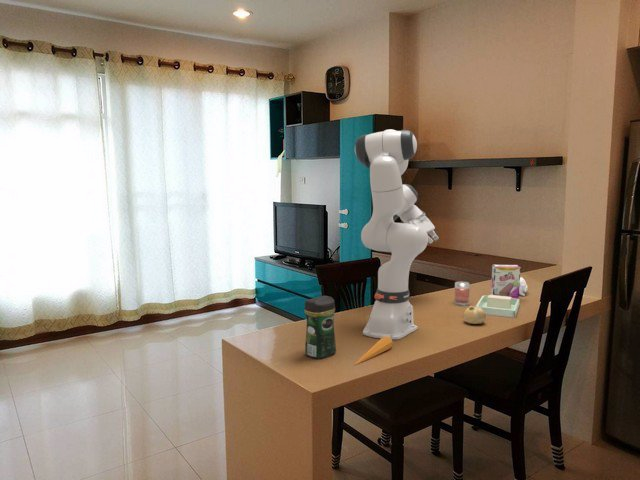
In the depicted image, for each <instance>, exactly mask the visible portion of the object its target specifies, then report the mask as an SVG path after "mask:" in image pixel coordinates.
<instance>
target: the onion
mask: <svg viewBox="0 0 640 480" xmlns="http://www.w3.org/2000/svg"><path fill="white" fill-rule="evenodd" d="M468 306H469V307H467V308H466V309H465V310H464V313H463V318H464V321H465V322H466V323H468V324H471V325H481V324H482V325H483V323H484V321H485V320H486V317H487V316H486V315H487V314H485V312H484V311H483V310H482V309H481V308H479V307H475V306H476V305H468Z"/></svg>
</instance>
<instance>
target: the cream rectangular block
mask: <svg viewBox="0 0 640 480" xmlns="http://www.w3.org/2000/svg"><path fill="white" fill-rule="evenodd" d="M487 296H488V297H487V307H495V308H505V309H510V308H511V297H508V296H498V295H491V294H488V295H487Z"/></svg>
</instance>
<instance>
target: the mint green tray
mask: <svg viewBox="0 0 640 480" xmlns="http://www.w3.org/2000/svg"><path fill="white" fill-rule="evenodd" d="M488 296H489V295H482V296H481V297H480V299H479V300H478V302H477V303H476V305H474V306H475V307H479V308H481V309H482V310H483V311H484V312H485V314H486V315H489V316H497V317H506V318H514V319H515V318H516V316H517V313H518V310H519V308H520V298H519V299H515V298H511V308H510V309H505V308H495V307H487V297H488Z"/></svg>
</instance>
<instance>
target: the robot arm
mask: <svg viewBox="0 0 640 480" xmlns="http://www.w3.org/2000/svg"><path fill="white" fill-rule="evenodd" d="M417 149H418V142H417V138H416V136H415V134H414V133H413V131H411V130H407V129H401V130H395V129H391V128H390V129H385V130H383V131H377V132H372V133H369V134H366V133H365V134H362V135H360V136H358V137H357V139H356V140H355V145H354V153H355V156H356V159H357V161H358V162H359V163H360V164H361V165H364V166H365V167H366V169H369V179H370V181H369V182H370V190H371V199H372V215H371V217H370V220H369V221H368V222H367V223H366V224H365V225H364V226H363V228H362V230H361V233H360V238H361V242H362V244H363V246H364V247H365V248H367V249H370V250H372V251H376V252H385V253H391V257H390V260H389V261H387V262H385V263H383V264H382V265H380V266H379V268H378V271H377V288H376V292H375V294H374V299H375V301H374V304H373V306H372V309H371V312H370V315H369V319H368V320H367V321H368V322H367V323H366V325H365V326H364V328H363V330H362V335H364V336H367V337H370V338H376V339H381V338H382V337H385V336H387V337H390V338H391V339H392V340H401V339H402V338H404V337H406V336H408V335H410V334H411V333H413V332H415V331H417V330H418V326H417V325H416V324H414V306H413V305H412V304H411V303H410V289H409V278H410V277H409V275H410V269H411V265H412V264H413V261H414V260H415V259H416V258H417V257H418V255H420V254H421V253H423V252H424V250H426V248H427V246H428V244H432V243H433V242H434V241H435V242H436V241H438V240H439V236H438V235H437V234H436V231H434V230H435V229H436V227H435V225H434V224H433V222H432V221H431V220H430V219H429V218H428V217H427V216H426V213H425V212H424V211H423V210H422V209H420V208H419V207H418V206H417V205H415V204H416V203H417V201H418V198H419V197H418V195H419V193H418V192H417V190H416V189H415V188H414V187H413V186H412V185H411V184H407V183H404V184H403V182H402V181H403V179H402V175H404V173H405V172H406V170H407V168H408V165H409V160H410V159H413V158H414V156H415V155H416V152H417ZM398 218H400V220H401V221H402V222H395V221H396V220H397V219H398ZM429 235H430V236H431V237H430V236H429Z"/></svg>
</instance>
